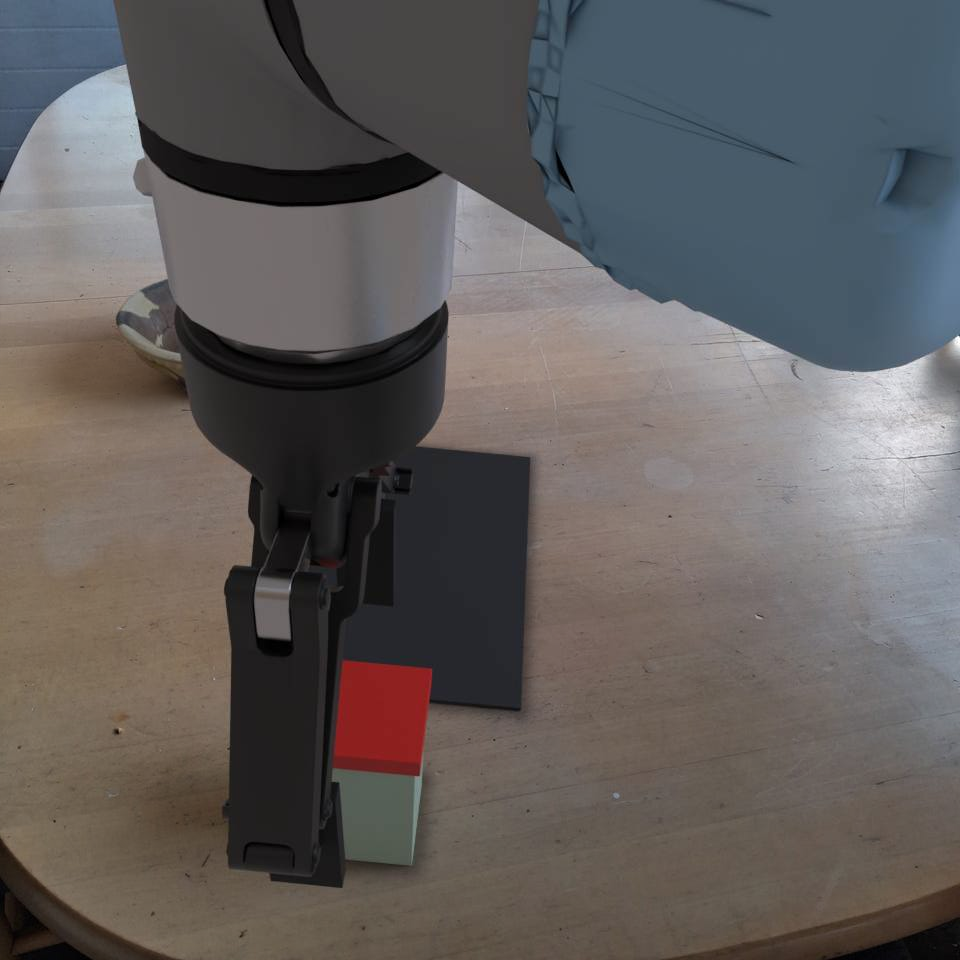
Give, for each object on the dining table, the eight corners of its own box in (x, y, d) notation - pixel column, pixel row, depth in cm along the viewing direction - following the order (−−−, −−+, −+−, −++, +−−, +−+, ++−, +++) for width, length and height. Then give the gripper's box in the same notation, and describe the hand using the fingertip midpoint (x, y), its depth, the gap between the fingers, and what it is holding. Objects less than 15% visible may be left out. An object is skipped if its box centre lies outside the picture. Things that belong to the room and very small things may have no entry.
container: (415, 870, 61) (420, 763, 52) (318, 861, 61) (305, 752, 52) (426, 781, 66) (432, 668, 57) (336, 772, 66) (327, 658, 57)
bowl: (322, 350, 105) (317, 277, 98) (260, 447, 92) (250, 370, 85) (180, 323, 107) (167, 250, 100) (100, 414, 94) (78, 336, 87)
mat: (520, 710, 71) (521, 708, 71) (267, 686, 71) (267, 684, 71) (529, 459, 93) (530, 456, 93) (336, 441, 93) (336, 438, 93)
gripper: (282, 109, 34) (314, 509, 48) (-51, 644, 16) (160, 1033, 30) (480, 128, 34) (454, 523, 48) (379, 687, 16) (385, 1055, 30)
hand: (341, 719), depth 39 cm, fingers open, 13 cm apart
